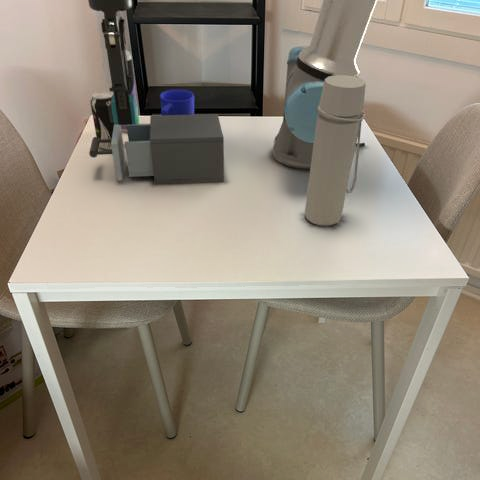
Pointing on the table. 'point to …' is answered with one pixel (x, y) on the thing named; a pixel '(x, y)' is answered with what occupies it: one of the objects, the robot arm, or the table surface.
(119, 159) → the drawer
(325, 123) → the water bottle
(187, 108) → the mug
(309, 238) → the table surface
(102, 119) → the beverage can
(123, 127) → the spray can
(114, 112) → the cube
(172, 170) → the grey drawer cabinet
